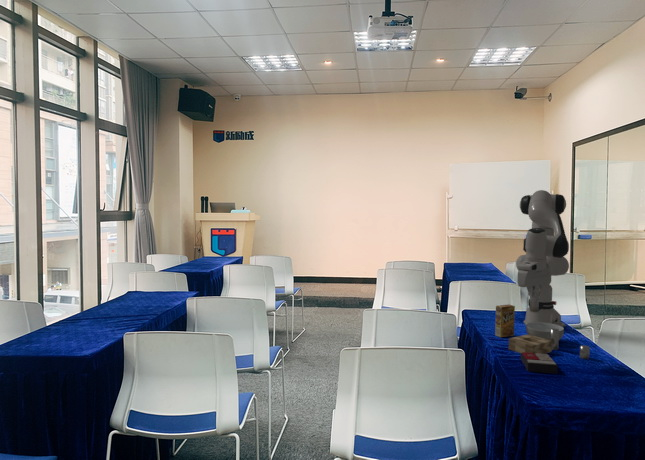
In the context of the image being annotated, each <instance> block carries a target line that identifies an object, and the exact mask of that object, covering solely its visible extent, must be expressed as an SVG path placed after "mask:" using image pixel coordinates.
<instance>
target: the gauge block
mask: <svg viewBox="0 0 645 460" xmlns="http://www.w3.org/2000/svg"><path fill="white" fill-rule="evenodd" d="M507 349H508V350H509V351H513V352H516V353H519V354H521V353H522V352H526V353H534V354H535V353H539V354H549V353H552V351H553V350H552V341H551V340H547V339H543V338H540V337H536V336H533V335H529V334H527V333H526V334H524V335H518V336H512V337H510V338H508V348H507Z"/></svg>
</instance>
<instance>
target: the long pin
mask: <svg viewBox="0 0 645 460" xmlns="http://www.w3.org/2000/svg"><path fill="white" fill-rule="evenodd" d="M532 291H533V292H534V296H529V297H530V312H538V309H539V281H538V285H537V286H533V289H532Z"/></svg>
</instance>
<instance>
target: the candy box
mask: <svg viewBox="0 0 645 460" xmlns="http://www.w3.org/2000/svg"><path fill="white" fill-rule="evenodd" d="M515 313H516V306H515V305H513V304H502V305H496V306H495V323H494V324H495V327H494V329H495V332H494V333H495V334H494V335H495V336H496V337H499V338H503V337H504V338H507V337H515V317H516V316H515V315H516V314H515Z"/></svg>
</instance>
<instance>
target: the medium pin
mask: <svg viewBox="0 0 645 460" xmlns="http://www.w3.org/2000/svg"><path fill="white" fill-rule="evenodd" d="M550 340H551V341H552V351H558V350H559V344H560V343H559V341H560V340H559V330H558V329H553V328H552V329H550Z"/></svg>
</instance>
